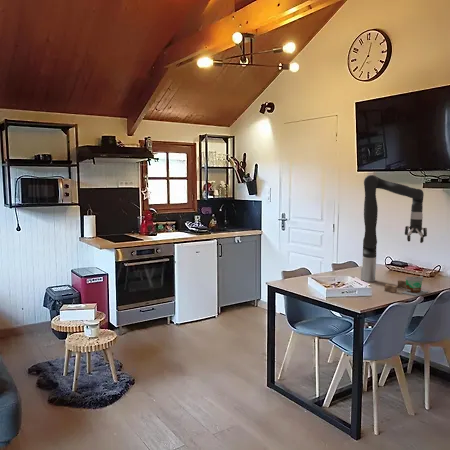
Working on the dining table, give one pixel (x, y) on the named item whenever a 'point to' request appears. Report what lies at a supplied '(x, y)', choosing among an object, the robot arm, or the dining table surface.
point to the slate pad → (415, 293)
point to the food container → (414, 284)
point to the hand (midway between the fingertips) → (415, 242)
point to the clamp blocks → (394, 288)
